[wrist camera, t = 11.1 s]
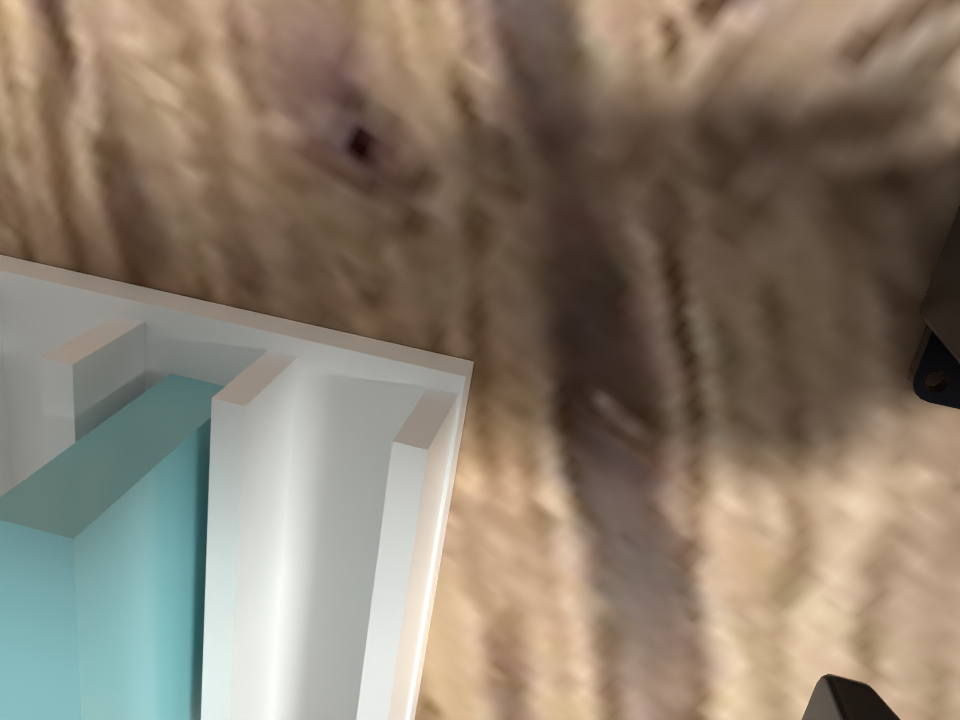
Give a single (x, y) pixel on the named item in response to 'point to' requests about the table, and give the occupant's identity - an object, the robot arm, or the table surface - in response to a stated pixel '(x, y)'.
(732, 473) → the table surface
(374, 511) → the dish rack
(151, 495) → the light blue block
